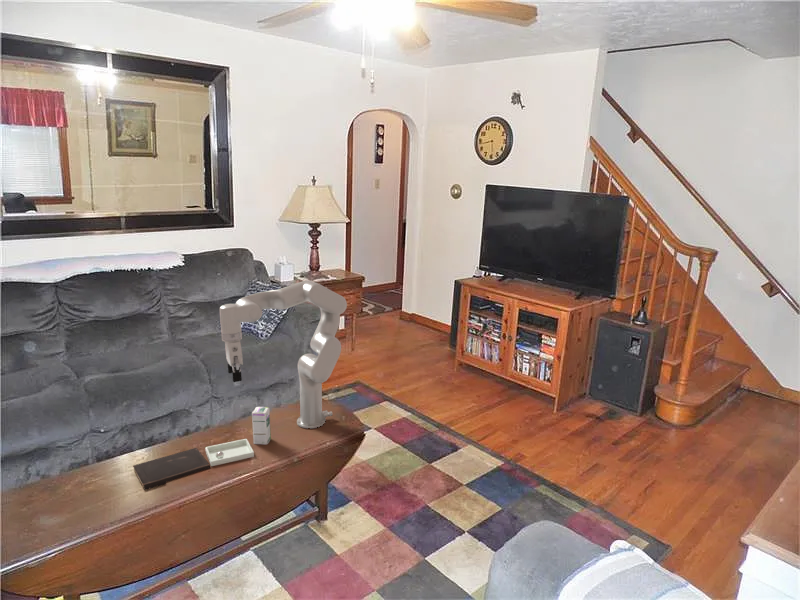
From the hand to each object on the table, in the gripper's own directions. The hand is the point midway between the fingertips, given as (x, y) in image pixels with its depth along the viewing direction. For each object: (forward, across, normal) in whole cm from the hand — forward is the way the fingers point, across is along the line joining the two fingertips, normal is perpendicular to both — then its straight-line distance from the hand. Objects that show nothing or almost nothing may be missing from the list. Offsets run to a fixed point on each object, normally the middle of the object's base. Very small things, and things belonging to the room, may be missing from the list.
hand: (234, 376), depth 213 cm
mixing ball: (+28, -11, +10) cm, 31 cm away
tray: (+29, -9, +6) cm, 30 cm away
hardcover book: (+29, -10, +27) cm, 41 cm away
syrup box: (+29, -3, -8) cm, 31 cm away
